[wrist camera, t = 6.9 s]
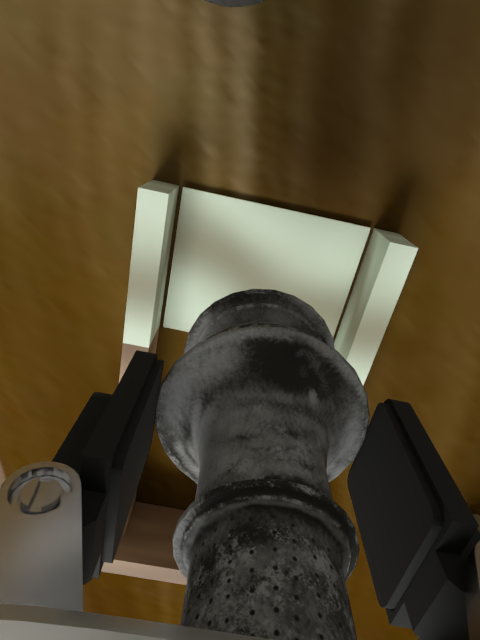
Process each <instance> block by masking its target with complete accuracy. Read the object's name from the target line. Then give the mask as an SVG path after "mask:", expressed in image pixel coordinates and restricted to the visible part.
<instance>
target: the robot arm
mask: <svg viewBox="0 0 480 640" xmlns="http://www.w3.org/2000/svg"><path fill="white" fill-rule="evenodd" d="M163 362H164V361H163V360H158V359H157V354H154V353H149V352H144V351H139V350H136V352H135V354H134V355H133V357H132V359H131V361H130V363H129V365H128V367H127V369H126V371H125V373H124V374H123V376H122V378H121V380H120V382H119V384H118V386H117V388H116V390H115V391H114V393H113V395H110V394H105V393H100V392H95V393H93V395H92V396H91V397H90V399H89V401H88V402H87V404H86V406H85V407H84V409H83V411H82V412H81V414H80V416H79V417H78V419H77V421H76V422H75V424H74V426H73V427H72V429H71V431H70V432H69V434H68V436H67V437H66V439H65V441H64V442H63V444H62V445H61V447H60V449H59V450H58V452H57V454H56V455H55V457H54V459H53V460H52V462H45V461H43V462H38V463H33V464H29V465H27V466H25V467H22V468H20V469H18V470H17V471H15V472H14V473H12V474H11V475H10V476H9V477H8V478H7V479H6V480H5V481H4V482H3V484H2V485H1V488H0V640H272V639H266V638H259V637H253V636H246V635H240V634H233V633H226V632H220V631H213V630H206V629H200V628H193V627H186V626H180V625H173V624H166V623H159V622H153V621H146V620H139V619H133V618H126V617H118V616H111V615H103V614H95V613H88V612H83V585H84V584H86V583H87V582H89V581H91V579H92V577H93V578H99V575H100V572H101V570H102V567H103V564H104V562H106V563H113V561H114V558H115V555H116V552H117V549H118V546H119V543H120V540H121V537H122V533H123V530H124V527H125V524H126V521H127V518H128V515H129V512H130V509H131V505H132V502H133V499H134V496H135V493H136V490H137V487H138V484H139V481H140V478H141V474H142V471H143V468H144V465H145V462H146V459H147V456H148V453H149V450H150V446H151V441H152V436H153V430H154V423H155V415H156V407H157V401H158V395H159V390H160V383H161V377H162V370H163ZM348 489H349V492H350V496H351V500H352V504H353V508H354V511H355V515H356V519H357V523H358V527H359V530H360V534H361V538H362V542H363V546H364V549H365V553H366V557H367V561H368V565H369V568H370V572H371V576H372V580H373V584H374V587H375V591H376V595H377V599H378V602H379V604H380V606H381V607H383V608H386V612H387V615H388V619H389V623H390V625H393V626H399V627H405V628H411V629H413V632H414V633H415V634H416V635H417V640H480V532H479V530H478V529H477V528H478V527H479V525H478V523H477V521H476V519H475V517H474V516H473V514H472V512H471V510H470V509H469V507H468V505H467V503H466V502H465V500H464V498H463V496H462V495H461V493H460V491H459V489H458V488H457V486H456V484H455V482H454V480H453V479H452V477H451V475H450V473H449V472H448V470H447V468H446V466H445V465H444V463H443V461H442V459H441V458H440V456H439V454H438V452H437V451H436V449H435V447H434V445H433V443H432V442H431V440H430V438H429V436H428V435H427V433H426V431H425V429H424V428H423V426H422V424H421V422H420V421H419V419H418V417H417V415H416V414H415V412H414V410H413V408H412V406H411V405H410V404H409V403H407V402H402V401H397V400H392V399H387V400H386V401H385V402H384V403H379V404H378V405H377V407H376V410H375V412H374V414H373V417H372V419H371V422H370V424H369V426H368V429H367V433H366V436H365V439H364V442H363V444H362V446H361V448H360V450H359V452H358V453H357V455H356V457H355V459H354V462H353V464H352V466H351V469H350V471H349V474H348Z"/></svg>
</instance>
